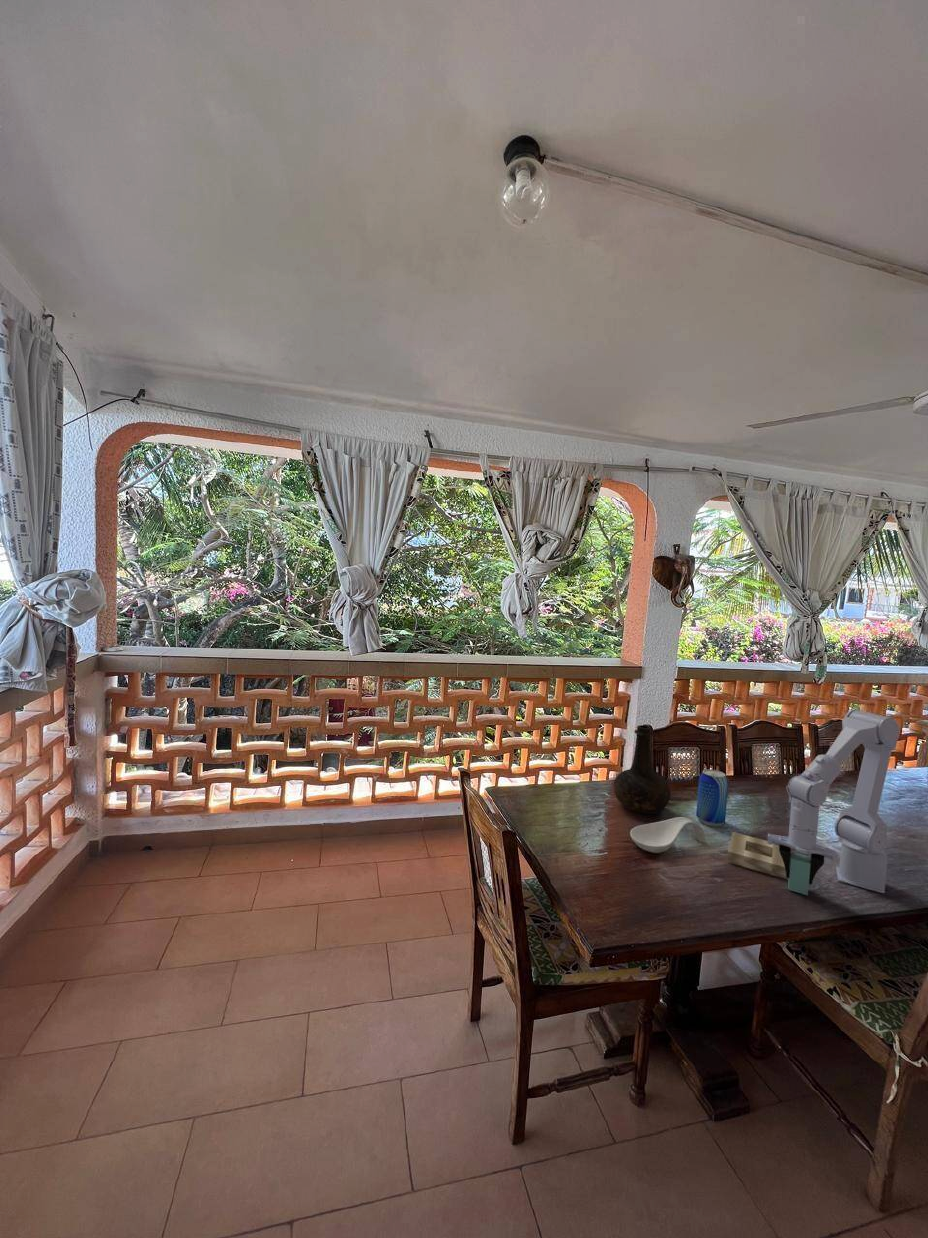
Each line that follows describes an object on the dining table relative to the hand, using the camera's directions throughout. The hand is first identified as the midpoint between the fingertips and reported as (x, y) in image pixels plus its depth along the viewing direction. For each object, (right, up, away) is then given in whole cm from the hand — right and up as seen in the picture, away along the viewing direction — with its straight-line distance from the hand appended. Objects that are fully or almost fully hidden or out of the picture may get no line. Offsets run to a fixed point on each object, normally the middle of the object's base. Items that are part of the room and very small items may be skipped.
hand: (798, 879), depth 127 cm
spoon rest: (-25, -1, +20) cm, 32 cm away
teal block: (0, -2, 0) cm, 2 cm away
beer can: (-4, -1, +37) cm, 37 cm away
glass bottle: (-24, +1, +45) cm, 51 cm away
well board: (-2, -2, +14) cm, 14 cm away
